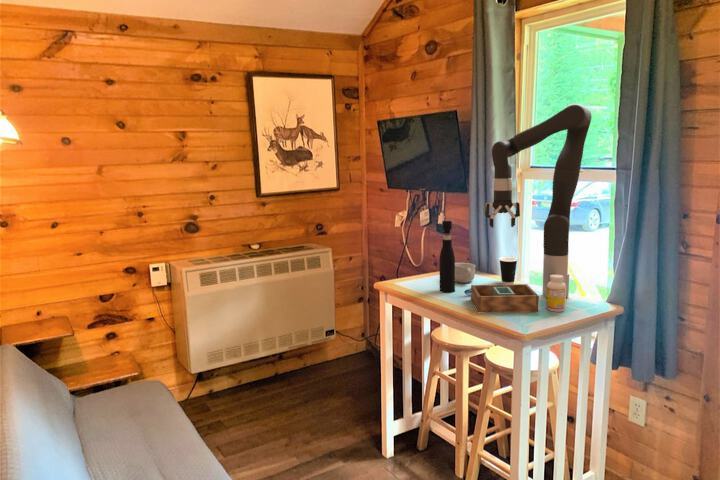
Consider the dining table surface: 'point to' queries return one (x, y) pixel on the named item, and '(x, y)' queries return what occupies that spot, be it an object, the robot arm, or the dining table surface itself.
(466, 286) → the dining table surface
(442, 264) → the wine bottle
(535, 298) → the walnut crate
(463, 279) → the teacup
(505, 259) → the dixie cup
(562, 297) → the supplement bottle
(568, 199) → the robot arm
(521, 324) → the dining table surface
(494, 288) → the teal tote
